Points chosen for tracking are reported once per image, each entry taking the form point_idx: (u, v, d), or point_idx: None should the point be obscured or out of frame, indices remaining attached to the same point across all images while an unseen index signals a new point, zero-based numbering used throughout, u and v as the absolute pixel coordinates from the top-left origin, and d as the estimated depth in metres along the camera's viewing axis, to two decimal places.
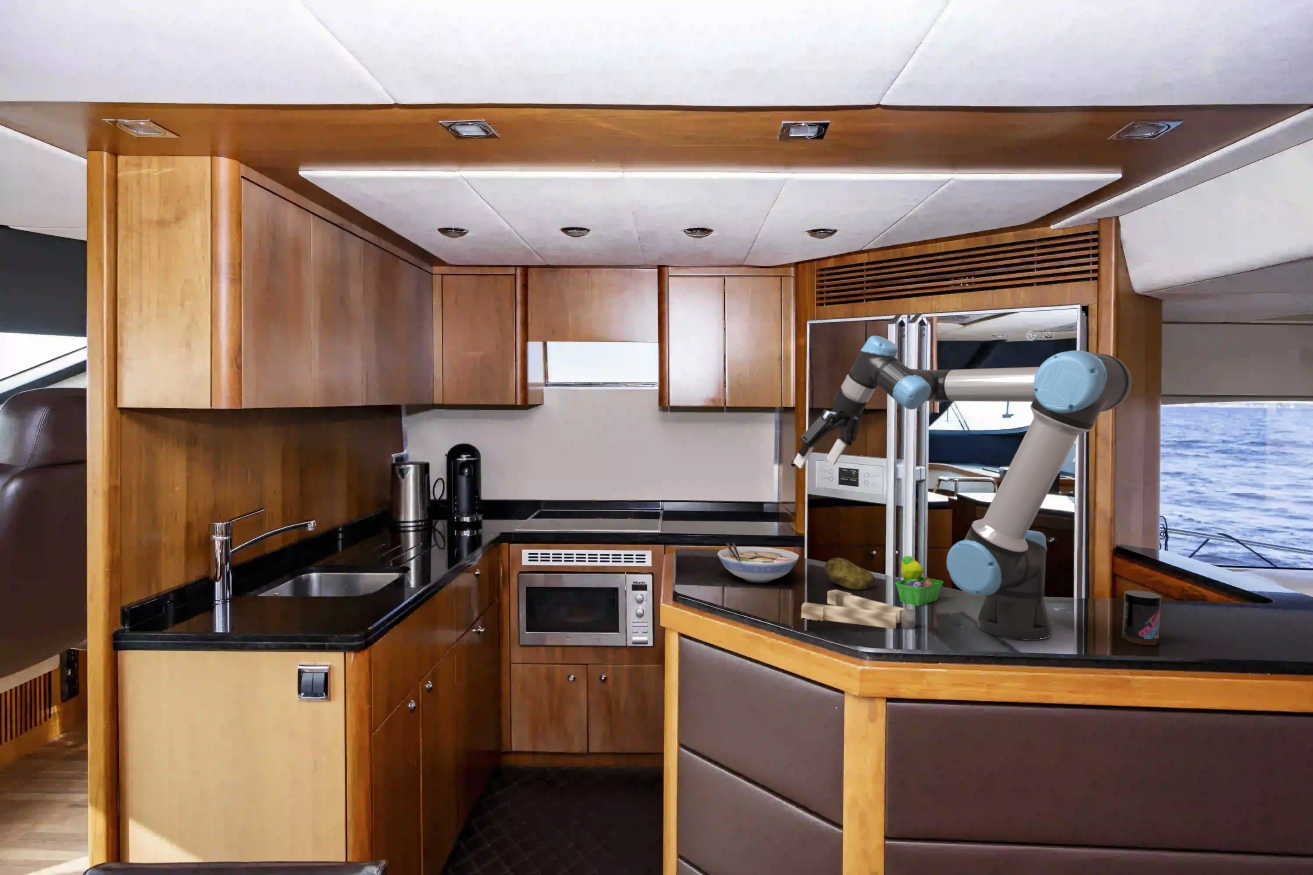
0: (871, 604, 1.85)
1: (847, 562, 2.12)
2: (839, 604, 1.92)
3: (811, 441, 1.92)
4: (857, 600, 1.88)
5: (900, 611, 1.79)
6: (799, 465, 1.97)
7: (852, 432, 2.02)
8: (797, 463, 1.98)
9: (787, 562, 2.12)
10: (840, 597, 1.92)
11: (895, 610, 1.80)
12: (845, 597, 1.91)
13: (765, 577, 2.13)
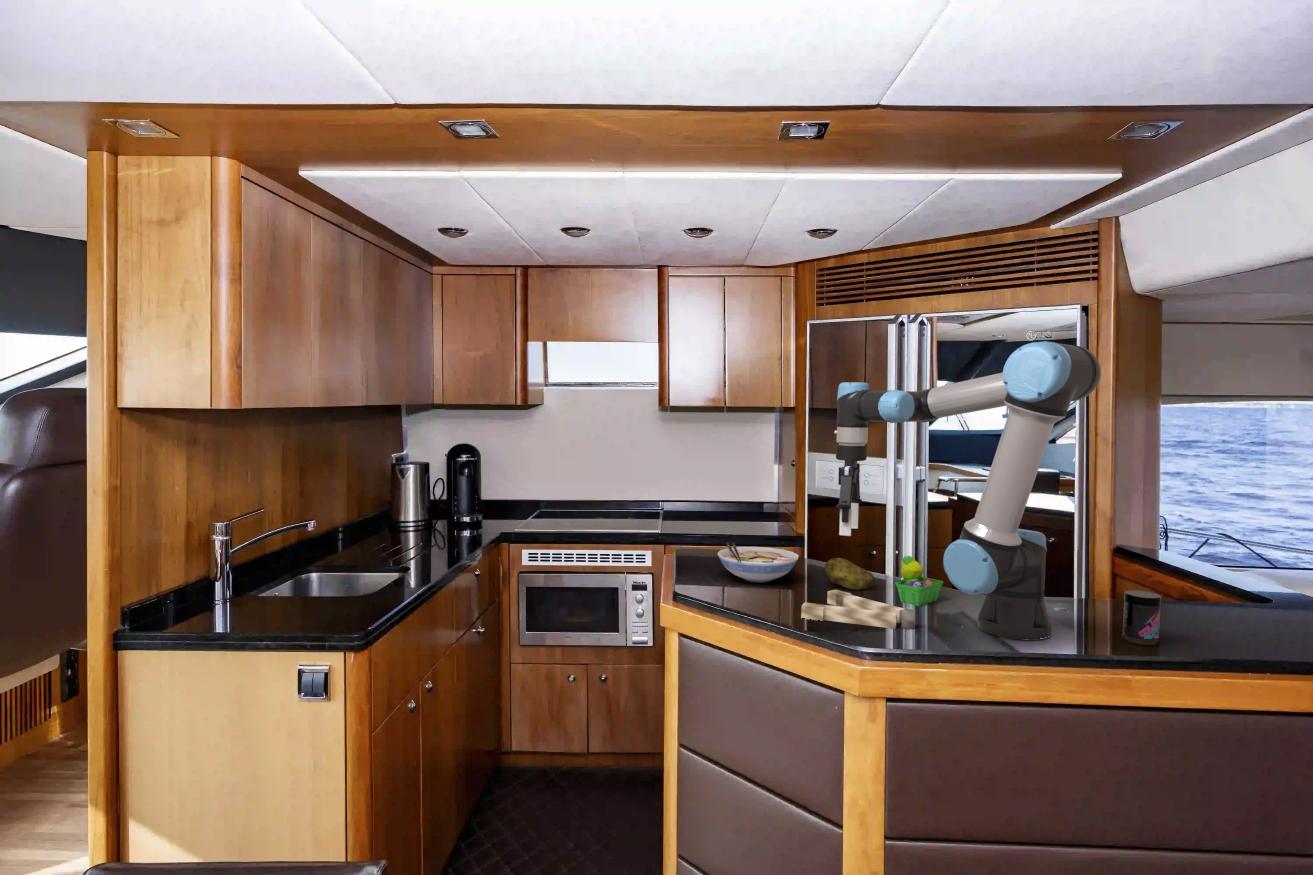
0: (871, 604, 1.85)
1: (847, 562, 2.12)
2: (839, 604, 1.92)
3: (850, 501, 1.88)
4: (857, 600, 1.88)
5: (900, 611, 1.79)
6: (848, 533, 1.90)
7: None
8: (844, 533, 1.91)
9: (787, 562, 2.12)
10: (840, 597, 1.92)
11: (895, 610, 1.80)
12: (845, 597, 1.91)
13: (765, 577, 2.13)
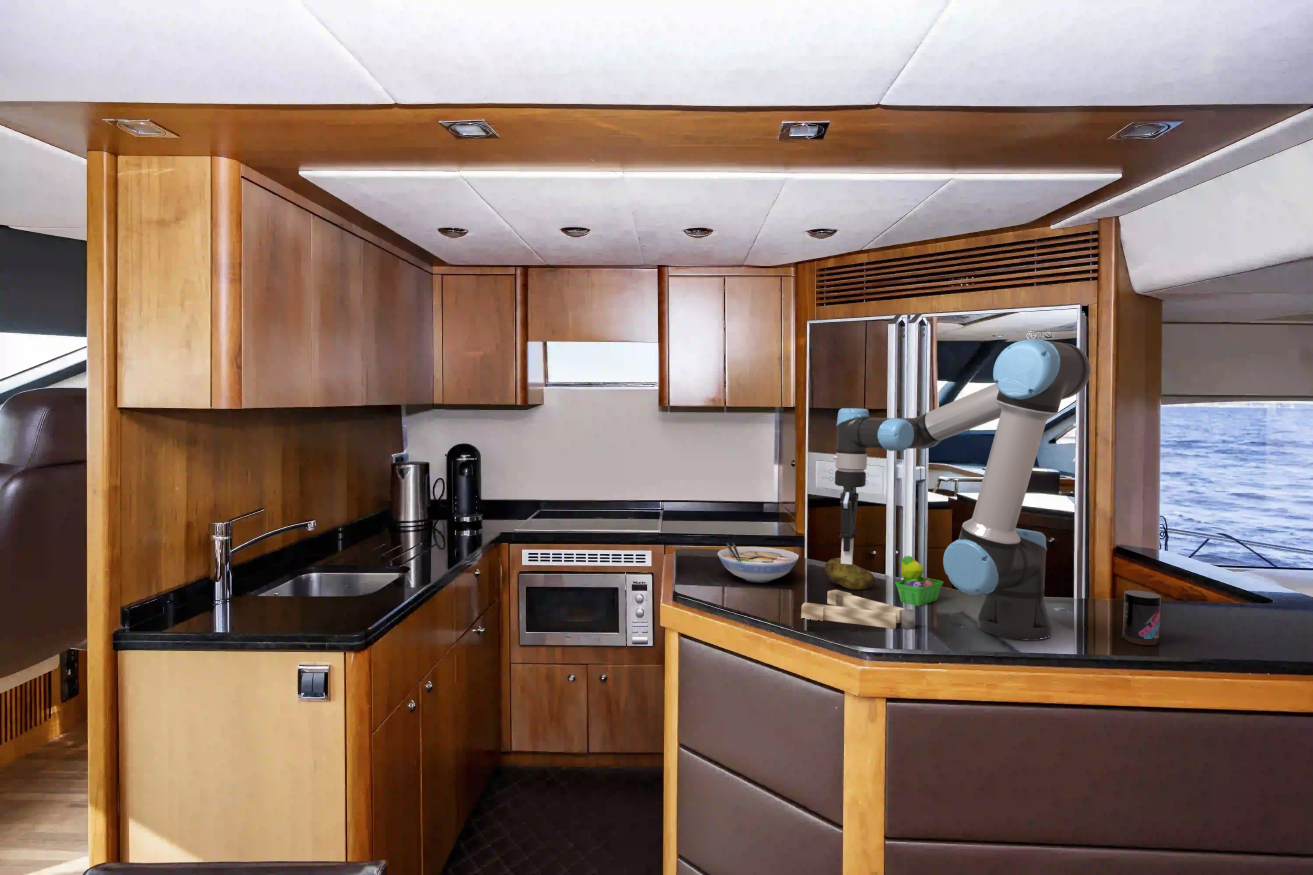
0: (871, 604, 1.85)
1: None
2: (839, 604, 1.92)
3: (851, 530, 1.93)
4: (857, 600, 1.88)
5: (900, 611, 1.79)
6: (849, 562, 1.96)
7: (853, 520, 1.99)
8: (846, 561, 1.96)
9: (787, 562, 2.12)
10: (840, 597, 1.92)
11: (895, 610, 1.80)
12: (845, 597, 1.91)
13: (765, 577, 2.13)
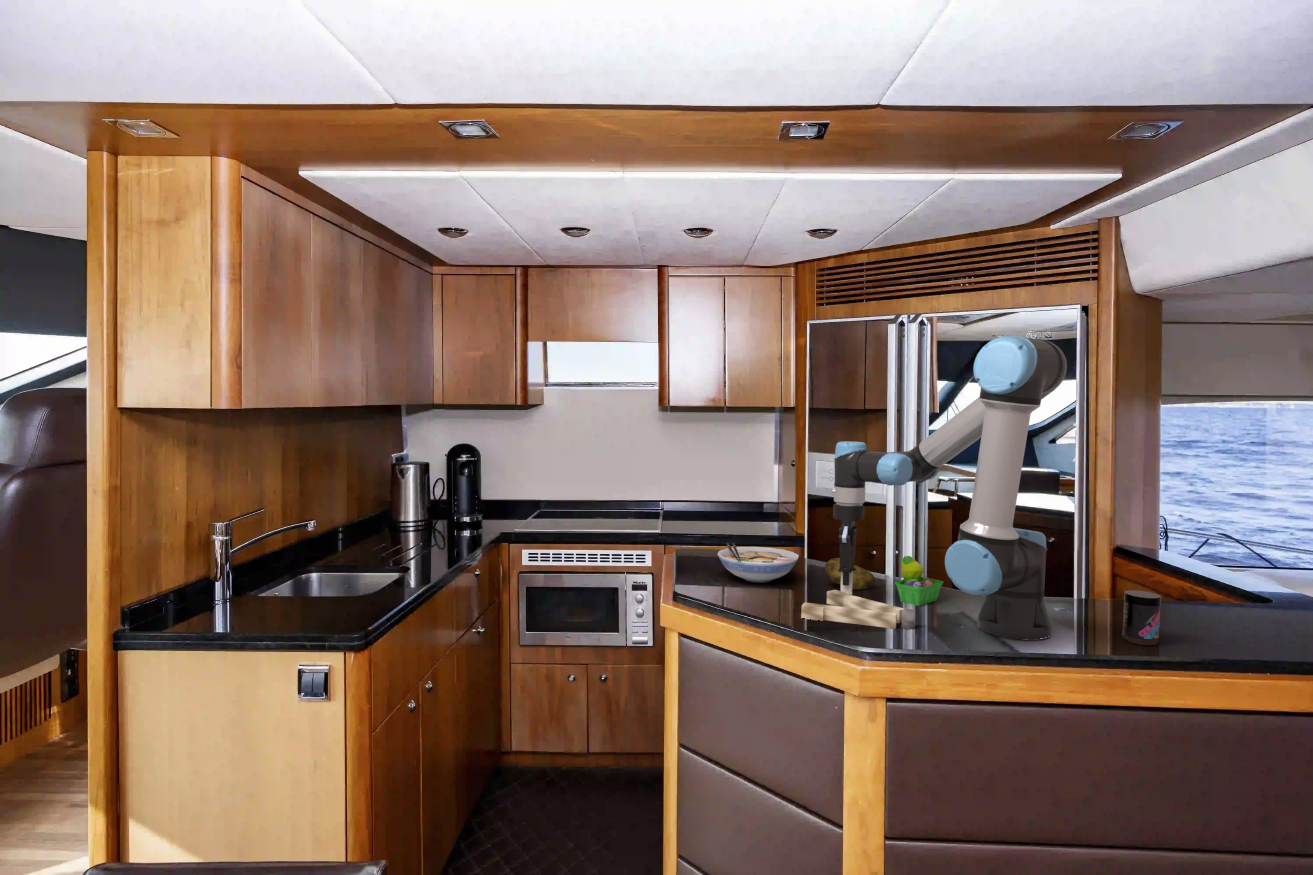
0: (871, 604, 1.85)
1: None
2: (839, 604, 1.92)
3: (850, 564, 1.93)
4: (857, 600, 1.88)
5: (900, 611, 1.79)
6: None
7: None
8: None
9: (787, 562, 2.12)
10: (840, 597, 1.92)
11: (895, 610, 1.80)
12: (845, 597, 1.91)
13: (765, 577, 2.13)
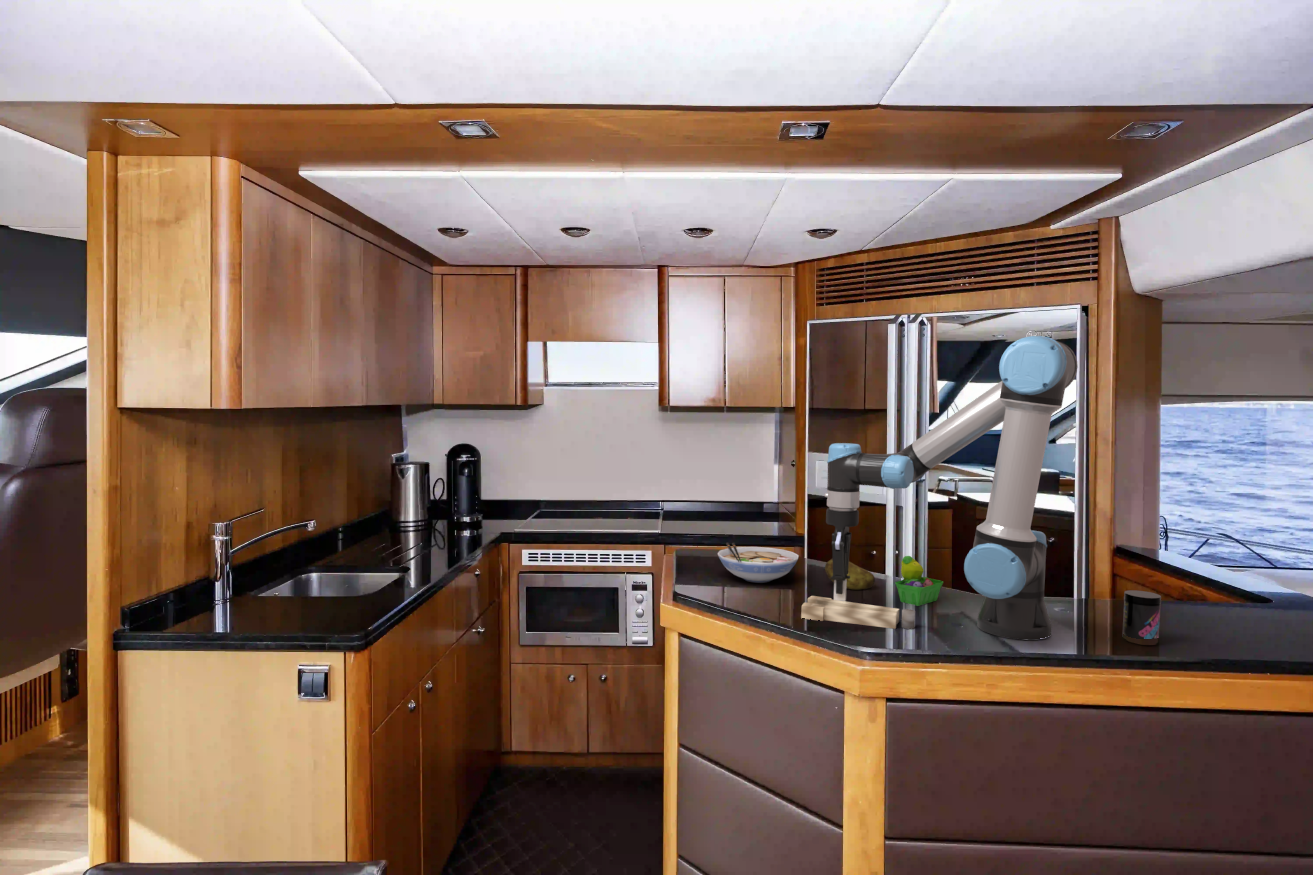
0: (863, 607, 1.82)
1: None
2: None
3: (844, 572, 1.84)
4: (845, 605, 1.84)
5: (897, 612, 1.78)
6: None
7: None
8: None
9: (787, 562, 2.12)
10: (824, 603, 1.86)
11: (892, 611, 1.79)
12: (830, 603, 1.85)
13: (765, 577, 2.13)
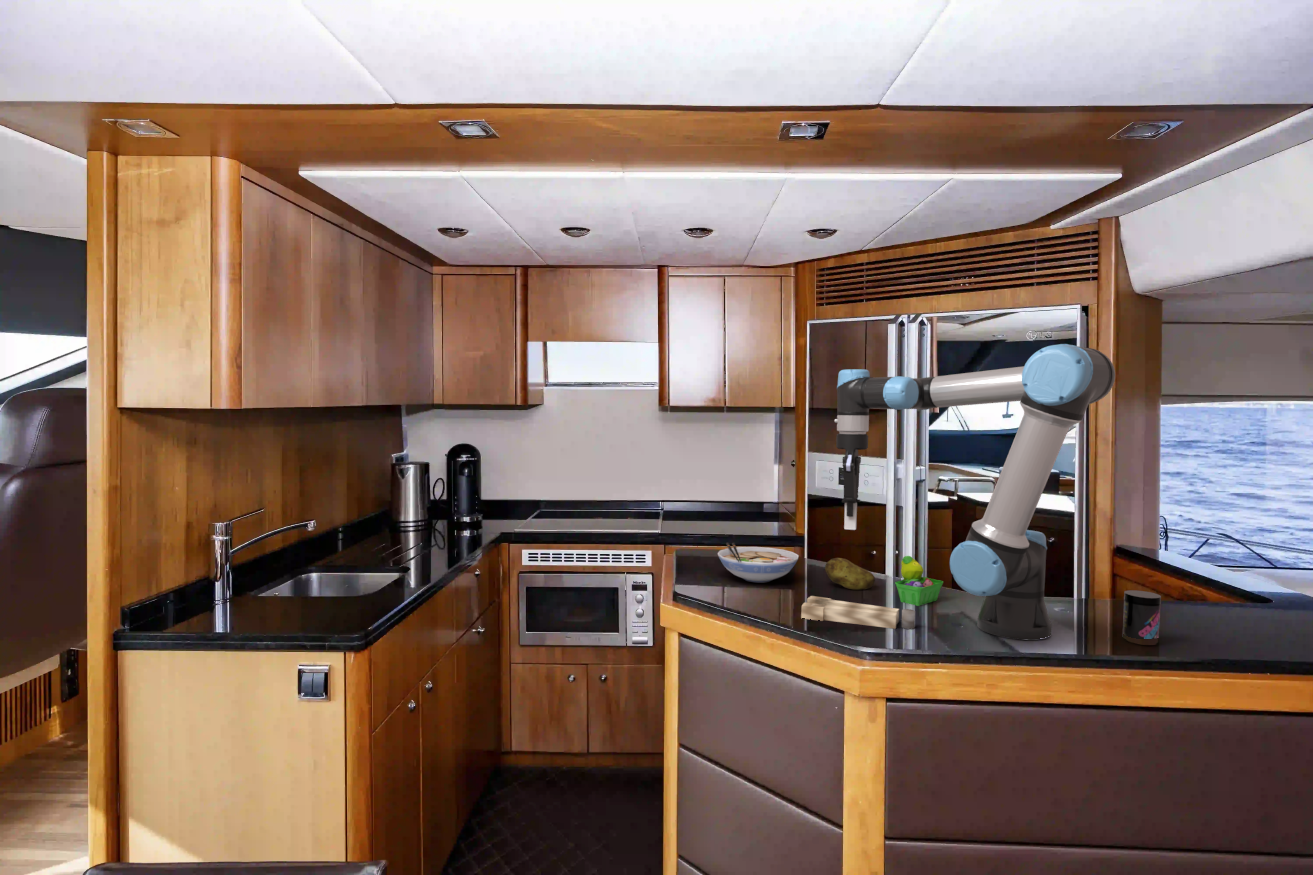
0: (862, 608, 1.82)
1: (847, 562, 2.12)
2: None
3: (854, 494, 1.89)
4: (845, 605, 1.83)
5: (897, 612, 1.78)
6: (853, 527, 1.91)
7: None
8: (849, 527, 1.91)
9: (787, 562, 2.12)
10: (824, 603, 1.86)
11: (892, 611, 1.78)
12: (830, 603, 1.85)
13: (765, 577, 2.13)
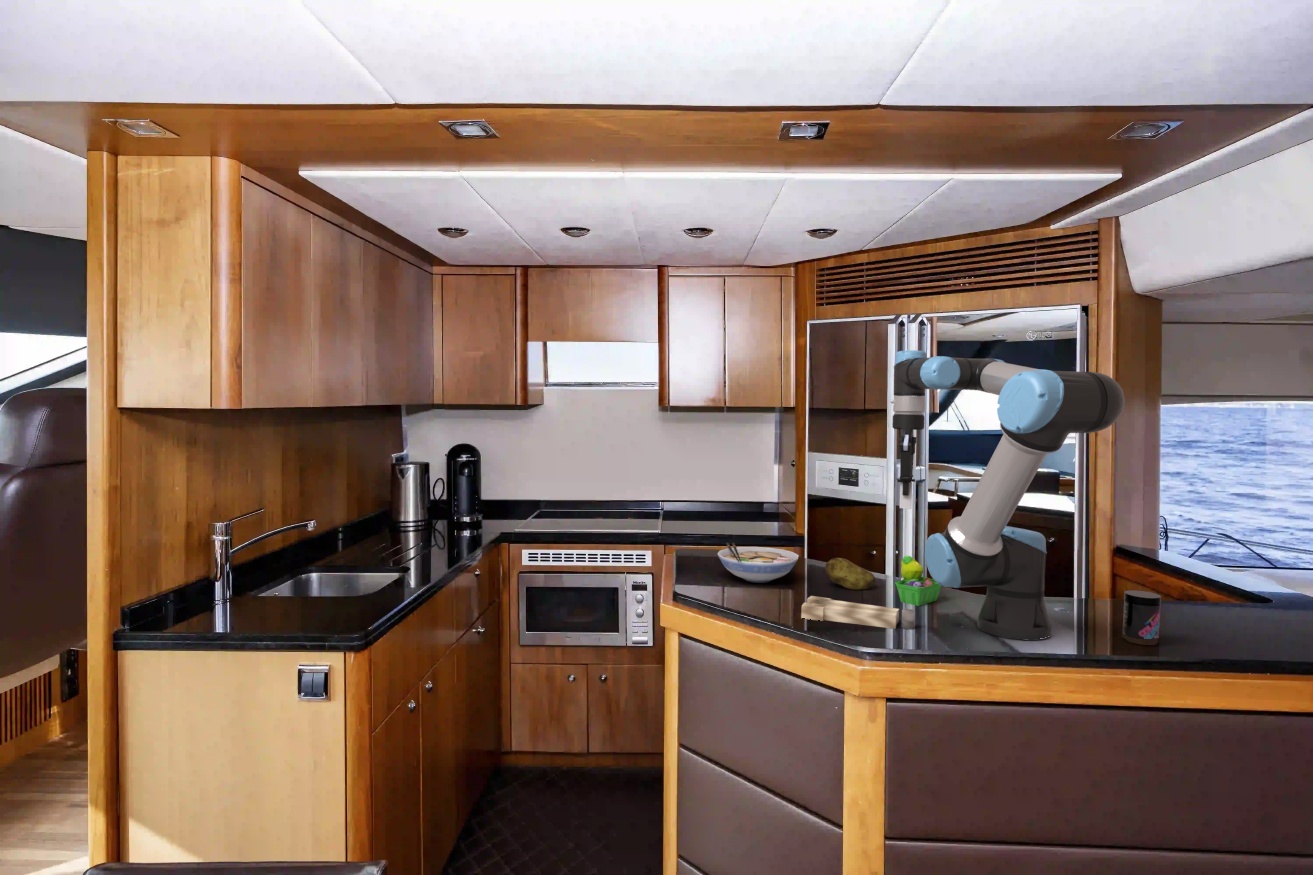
0: (862, 608, 1.82)
1: (847, 562, 2.12)
2: None
3: (910, 473, 1.92)
4: (845, 605, 1.83)
5: (897, 612, 1.78)
6: (908, 506, 1.94)
7: None
8: (905, 506, 1.95)
9: (787, 562, 2.12)
10: (824, 603, 1.86)
11: (892, 611, 1.78)
12: (830, 603, 1.85)
13: (765, 577, 2.13)
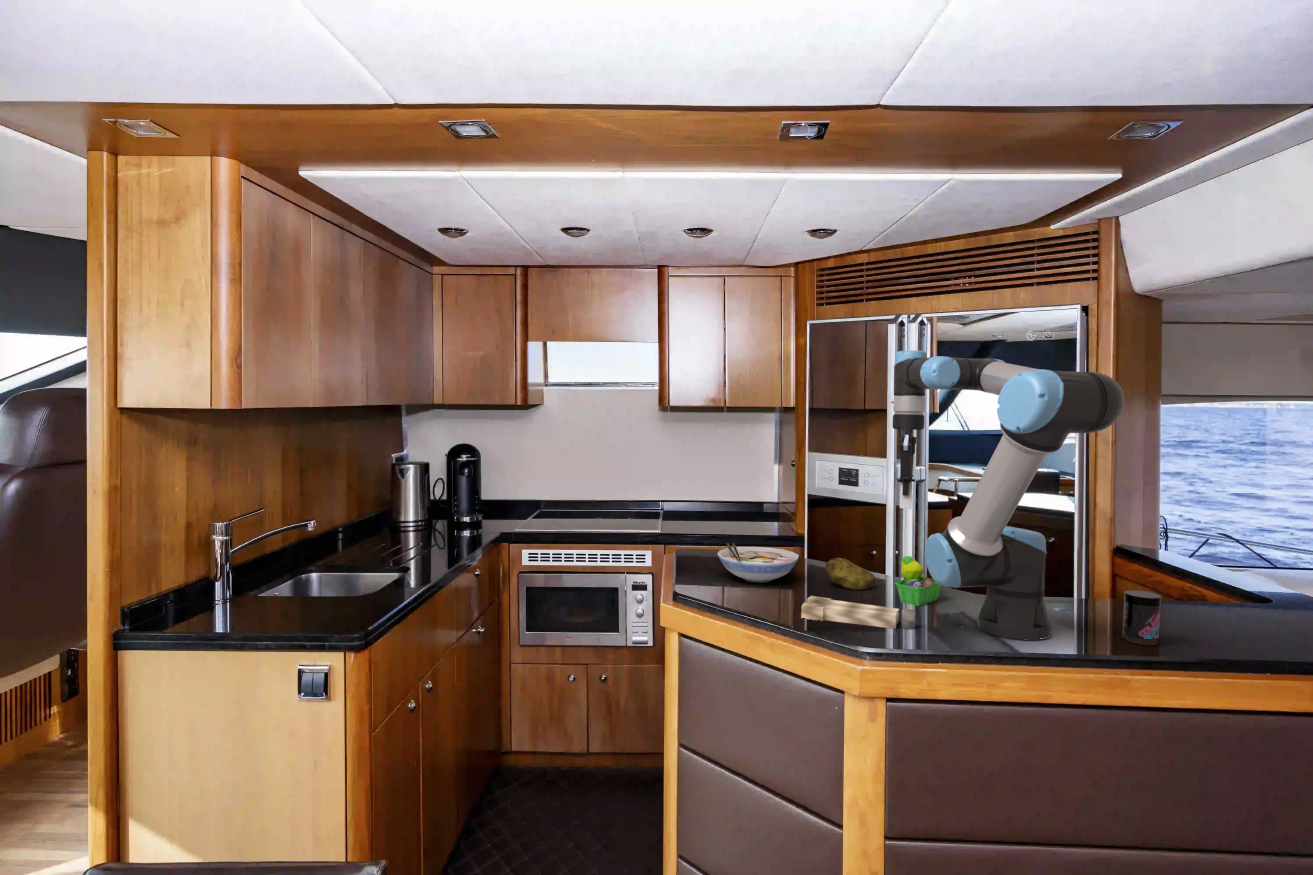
0: (862, 608, 1.82)
1: (848, 562, 2.12)
2: None
3: (910, 473, 1.92)
4: (845, 605, 1.83)
5: (897, 612, 1.78)
6: (908, 506, 1.94)
7: None
8: (905, 506, 1.95)
9: (787, 562, 2.12)
10: (824, 603, 1.86)
11: (892, 611, 1.78)
12: (830, 603, 1.85)
13: (765, 577, 2.13)
